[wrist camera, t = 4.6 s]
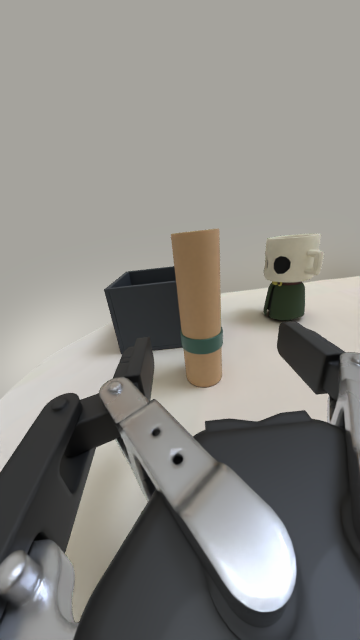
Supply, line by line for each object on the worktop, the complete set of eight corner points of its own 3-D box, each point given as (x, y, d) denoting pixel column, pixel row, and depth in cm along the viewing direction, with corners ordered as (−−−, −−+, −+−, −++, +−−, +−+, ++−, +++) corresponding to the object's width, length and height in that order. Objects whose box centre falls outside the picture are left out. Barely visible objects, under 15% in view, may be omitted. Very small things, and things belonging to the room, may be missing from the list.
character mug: (247, 309, 38) (250, 239, 33) (278, 303, 40) (285, 234, 34) (288, 333, 28) (302, 238, 23) (328, 324, 30) (349, 232, 25)
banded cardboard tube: (186, 390, 20) (168, 234, 14) (184, 365, 24) (169, 234, 18) (227, 385, 20) (227, 227, 14) (218, 361, 24) (214, 229, 18)
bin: (120, 353, 28) (103, 289, 24) (136, 318, 40) (126, 271, 36) (218, 343, 28) (216, 277, 24) (203, 310, 40) (201, 263, 36)
